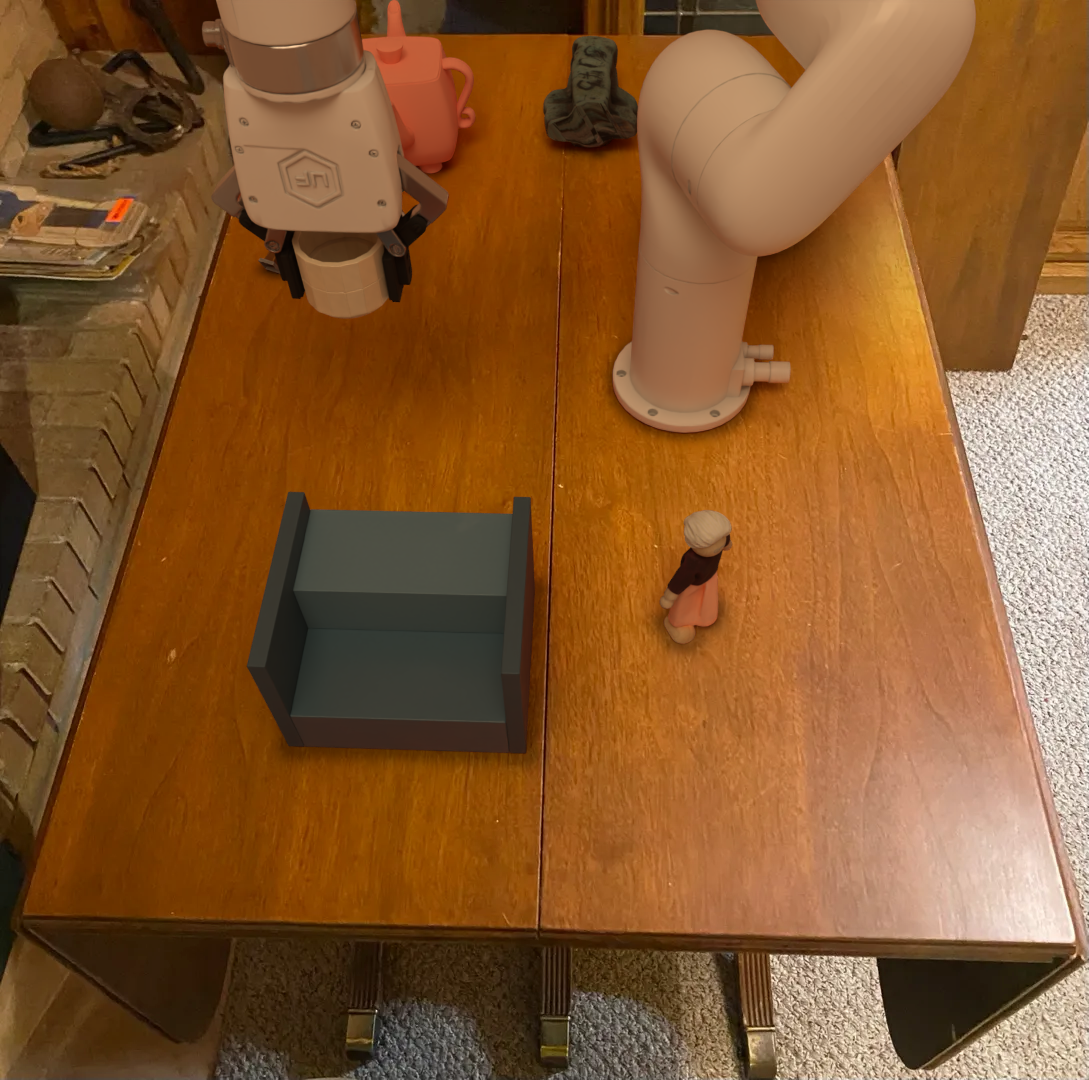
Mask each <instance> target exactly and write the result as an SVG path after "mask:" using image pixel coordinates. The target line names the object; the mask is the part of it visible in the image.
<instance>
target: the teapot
mask: <svg viewBox="0 0 1089 1080" xmlns="http://www.w3.org/2000/svg"><path fill="white" fill-rule="evenodd" d="M401 8H402V7H401V4H400V3H399V1H398V0H390V1H389V2H388V5H387V10H386V11H387V12H386V13H387V31H386V36H380V37H369V38H362V44H363V50H366V51H369V52H371V53H372V54H373V56H374V58H375V60H376V62H377V65H378V67H379V69H380V72H381V75H382V77H383V80H384V83H385V86H386V89H387V92H388V95H389V98H390V101H391V105H392V108H393V111H394V115H395V119H396V123H397V127H398V131H399V135H400V139H401V144H402V148H403V153H404V158H405V159H407V160H408V161H409V162H410V163H412V164H413V165H414V166H416V167H418V168H419V170H421V171H422V172H423V173H425V174H434V173H438V172H440V170H442V168H443V164H442V163H446V162H448V161H451V159H453V157H454V153H455V151H456V147H457V142H458V136H459V129H462V130H465V129H470V128H471V127H472V126H473V125H474V124H475V122H476V117H477V116H476V112H475V110H474V109H473V108H472V107H470V106H466V105H467V103H468V101H469V99H470V98H471V97H470V96H471V94H472V91H473V89H474V83H475V82H474V81H475V77H474V72H473V70H472V68H471V67H470V66H469V65H468V63H467V62H465V61H464V60H462V59H460V58H457V57H447V55H446V52H445V49H444V47H443V44H442V42H441V40H439V39H438V38H436V37H431V36H414V35H413V36H410V35H409V36H407V35H406V31H405V27H404V23H403V17H402V9H401ZM452 70H453V71H457V72H459V73H461V74H462V75H463V76H464V77H465V79H464V80H465V81H464V85H463V89H462V91H461V93H460V95H459V97H458V96H457V90H456V85H455V81H454V76H453V73H452ZM457 97H458V98H457ZM462 115H467V116H468V117H462Z"/></svg>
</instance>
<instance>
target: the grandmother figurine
mask: <svg viewBox="0 0 1089 1080" xmlns="http://www.w3.org/2000/svg"><path fill="white" fill-rule="evenodd" d="M683 525H684V526H683V527H684V528H683V535H684V542H685V543H686V545H687V546H688V547H689V548H688V549H687V550H686V551H685V552H684V553H683V554H682V556H681V558H680V562H679V567H678V568H677V569H676V571H675V572H674V574H673V575H672V577H671V579H670V580H669V582H668V583H667V586H666V588H665V589H664V591H663V595H662V596H661V597H660V599H659V605H660V607H661V608H662V609H664V610H669V611H668V614H667V616H665V617H664V619H663V626H664V628H665V629H666V632H667V633H668V634H669V636H670V638H671V639H672V640H673V641H674V642H675V643H677V644H681V645H685V644H688V643H690V642H692V641H694V639H695V637H696V633H697V631H696V628H695V626H699V627H709V626H711V625H713V624H714V623H715V622H717V619H718V613H719V577H718V575H719V574H718V570H719V564H720V562H721V558H722V554H723V552H729V551H730V550H731V549H732V547H733V541H732V539H731V532H732V529H733V528H732V527H733V526H732V523H731V521H730V520H729V519H728V517H727V516H726V515H724V514H722V513H721V512H719V511H716V510H713V509H712V510H711V509H703V510H699V511H694V512H692V513H691V514H689V515H687V516H686V517H685V518H684V519H683Z"/></svg>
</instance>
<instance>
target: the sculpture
mask: <svg viewBox="0 0 1089 1080" xmlns="http://www.w3.org/2000/svg"><path fill="white" fill-rule="evenodd" d="M618 56H619V48H618V44H617V43H616V41H614V40H613V39H611V38H608V37H603V36H600V35H599V36H598V35H583V36H580V37H577V38H576V39H574V41H573V43H572V45H571V59H570V66H569V67H570V72H569V75H568V78H567V85H566V87H564V88H559V89H553V90H551V92H549V93H548V94H546V96H545V98H544V101H543V105H542V106H543V107H542V113H543V115H544V117H543V121H544V128H545V133H546V136H547V137H548V138H549V139H551V140H553V141H556V142H569V143H570V144H571V146H573V147H575V148H576V147H577V148H600V147H606V146H607V145H609V144H610V142H611V141H613V140H628V139H631V138H634V137H636V135H637V112H638V102H637V99H636V98H635V97H634V96H633V95H632V94H631V93H630V92H629V91H627V90H625V89H624V88H622V87H620V86H619V79H618V69H617V64H618Z"/></svg>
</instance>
